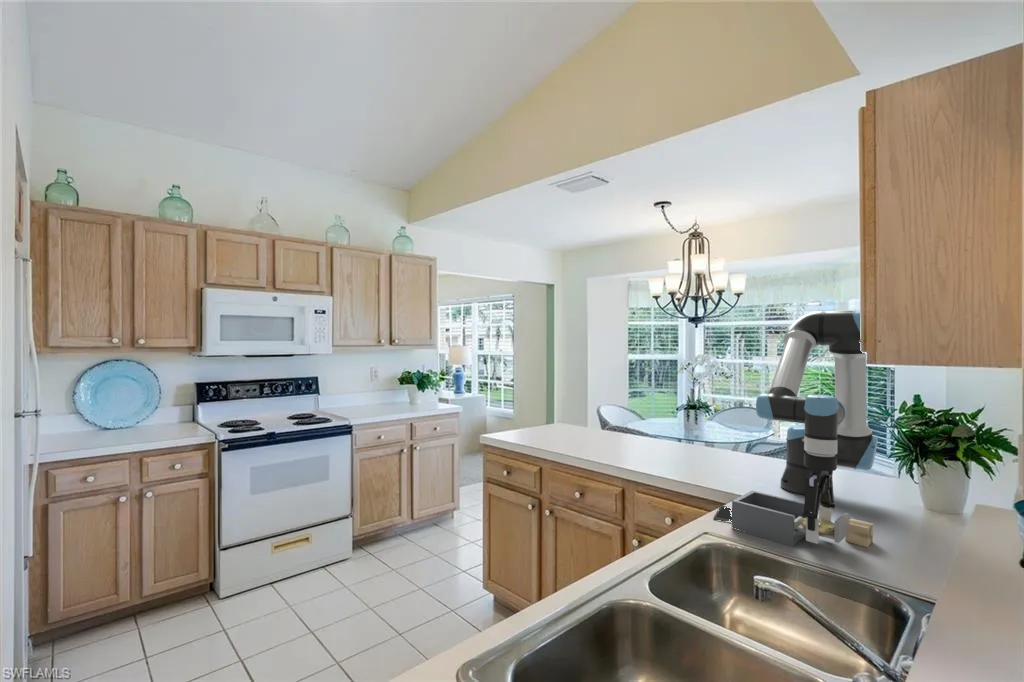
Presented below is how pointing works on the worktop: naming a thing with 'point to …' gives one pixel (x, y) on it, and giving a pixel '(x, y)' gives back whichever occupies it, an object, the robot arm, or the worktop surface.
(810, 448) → the robot arm
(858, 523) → the pedestal
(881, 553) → the worktop surface
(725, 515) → the cell phone
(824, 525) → the disc
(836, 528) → the grey i-beam
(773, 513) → the box
